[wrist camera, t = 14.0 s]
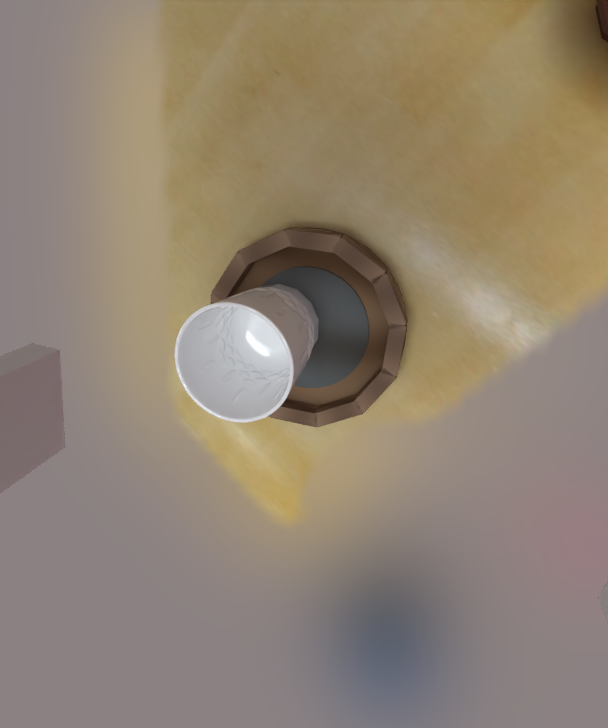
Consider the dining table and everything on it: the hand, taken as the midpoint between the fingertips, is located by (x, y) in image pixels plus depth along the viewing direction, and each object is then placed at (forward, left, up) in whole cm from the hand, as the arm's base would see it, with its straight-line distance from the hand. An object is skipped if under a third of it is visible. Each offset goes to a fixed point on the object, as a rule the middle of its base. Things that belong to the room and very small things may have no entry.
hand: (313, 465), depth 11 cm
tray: (+5, -6, -29) cm, 30 cm away
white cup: (+5, -9, -27) cm, 29 cm away
